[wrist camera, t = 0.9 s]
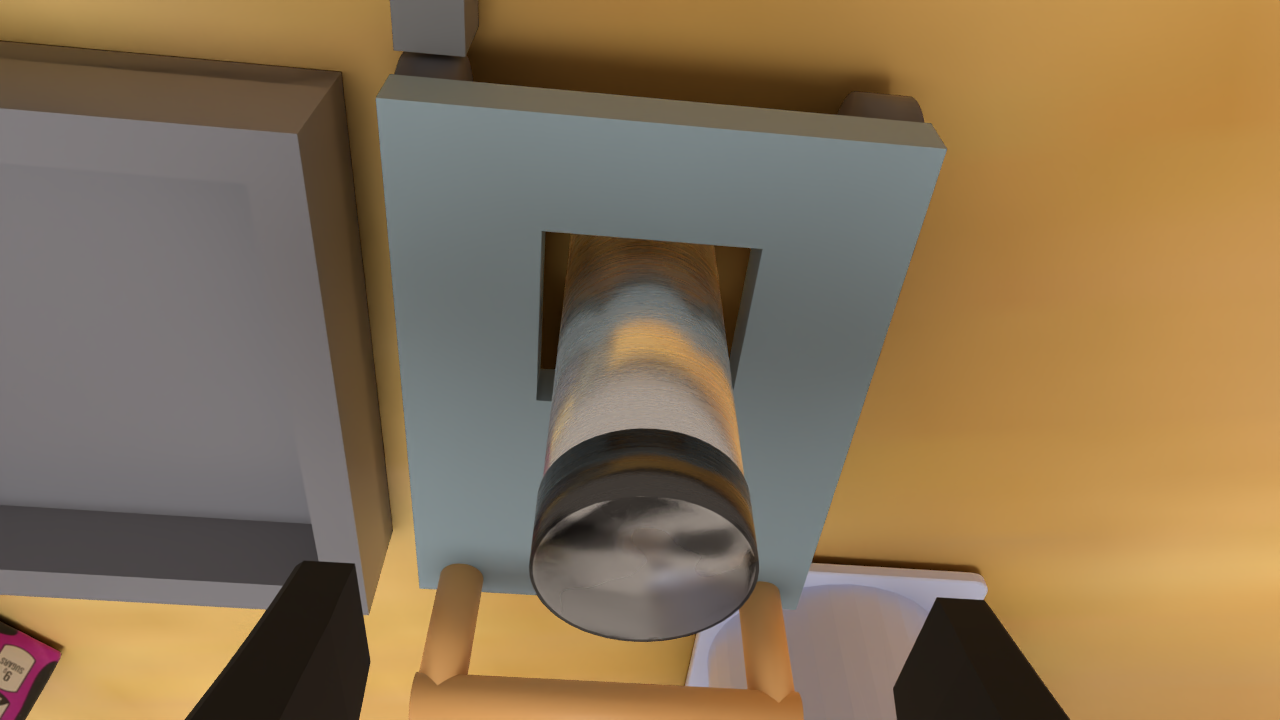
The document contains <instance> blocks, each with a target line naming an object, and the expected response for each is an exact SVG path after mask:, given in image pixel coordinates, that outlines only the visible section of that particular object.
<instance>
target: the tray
mask: <svg viewBox="0 0 1280 720" xmlns="http://www.w3.org/2000/svg"><path fill="white" fill-rule="evenodd" d="M392 531H393V529H392V520H391V511H390V503H389V494H388V485H387V476H386V467H385V458H384V449H383V440H382V431H381V422H380V413H379V404H378V395H377V386H376V378H375V369H374V360H373V351H372V342H371V333H370V324H369V315H368V306H367V297H366V288H365V279H364V270H363V261H362V252H361V244H360V235H359V226H358V217H357V208H356V199H355V190H354V181H353V172H352V163H351V154H350V145H349V136H348V127H347V119H346V110H345V101H344V92H343V83H342V74H341V72H334V71H323V70H312V69H301V68H290V67H279V66H268V65H257V64H246V63H235V62H224V61H213V60H202V59H191V58H180V57H169V56H158V55H147V54H136V53H125V52H114V51H103V50H92V49H81V48H70V47H59V46H48V45H37V44H26V43H15V42H4V41H0V595H16V596H34V597H52V598H70V599H88V600H106V601H124V602H142V603H160V604H178V605H196V606H214V607H232V608H250V609H267V608H268V607H269V606H270V604H271V603H272V601H273V600H274V598H275V597H276V595H277V594H278V592H279V591H280V589H281V588H282V586H283V585H284V583H285V582H286V580H287V579H288V577H289V576H290V574H291V572H292V571H293V569H294V568H295V566H296V565H298V564H299V563H301V562H302V561H304V560H305V561H322V562H339V563H355V566H356V573H357V579H358V586H359V592H360V598H361V605H362V611H363V615H369V613H370V609H371V606H372V602H373V599H374V595H375V592H376V588H377V584H378V581H379V577H380V574H381V570H382V567H383V563H384V559H385V556H386V552H387V549H388V545H389V542H390V538H391V535H392Z"/></svg>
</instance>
